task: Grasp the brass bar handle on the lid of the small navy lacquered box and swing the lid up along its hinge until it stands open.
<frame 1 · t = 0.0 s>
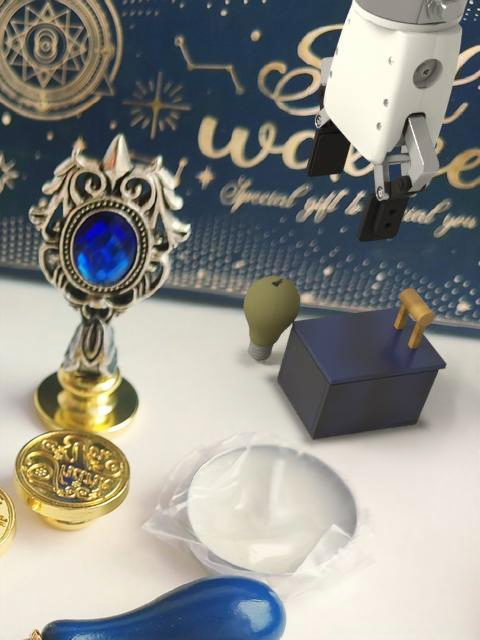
hand: (348, 204, 88), 26 cm above the table, tool pointing down, fingers open, 9 cm apart
box: (345, 401, 111), on the table
lid: (373, 326, 104), point 10 cm above the table, hinge at 0.0°
light bulb: (257, 359, 116), on the table
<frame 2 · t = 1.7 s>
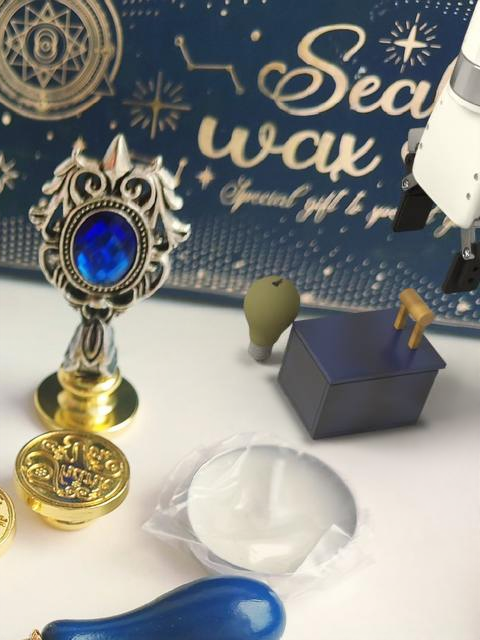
hand: (431, 259, 99), 17 cm above the table, tool pointing down, fingers open, 9 cm apart
nothing on the table moved.
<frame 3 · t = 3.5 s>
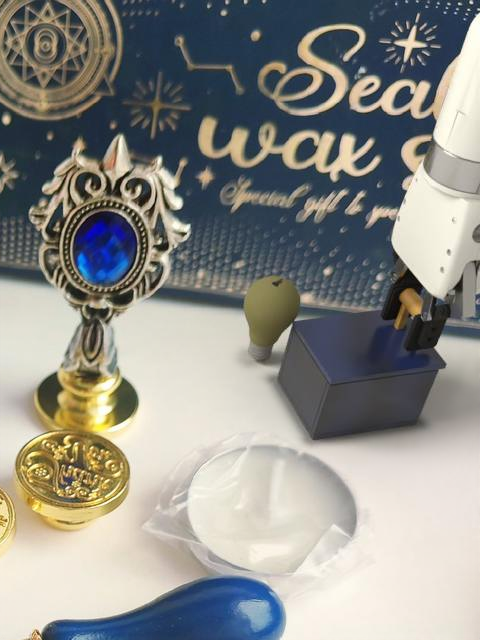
hand: (407, 330, 105), 9 cm above the table, tool pointing down, fingers closed on lid, 4 cm apart
lid: (373, 326, 104), point 10 cm above the table, hinge at 0.0°, touching gripper
everything else where it was.
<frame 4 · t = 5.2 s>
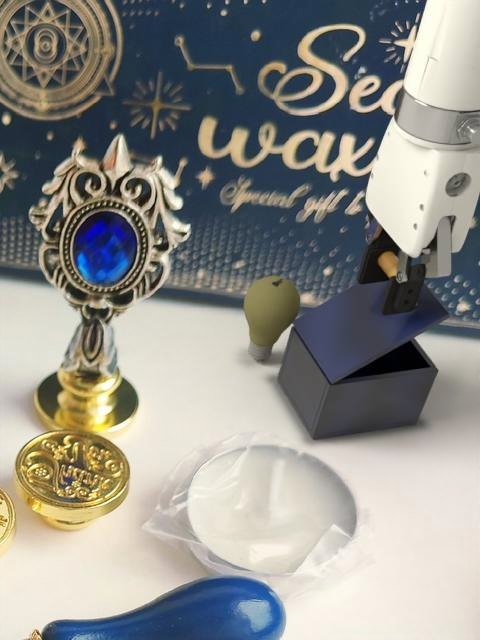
hand: (384, 294, 101), 13 cm above the table, tool pointing down, fingers closed on lid, 4 cm apart
lid: (361, 305, 101), point 12 cm above the table, hinge at 32.7°, touching gripper
everything else where it was.
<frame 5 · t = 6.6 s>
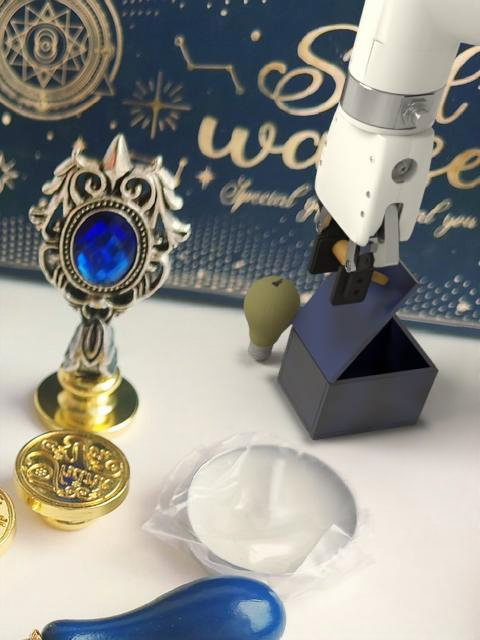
hand: (335, 284, 99), 15 cm above the table, tool pointing down, fingers closed on lid, 4 cm apart
lid: (334, 298, 100), point 14 cm above the table, hinge at 62.3°, touching gripper
everything else where it was.
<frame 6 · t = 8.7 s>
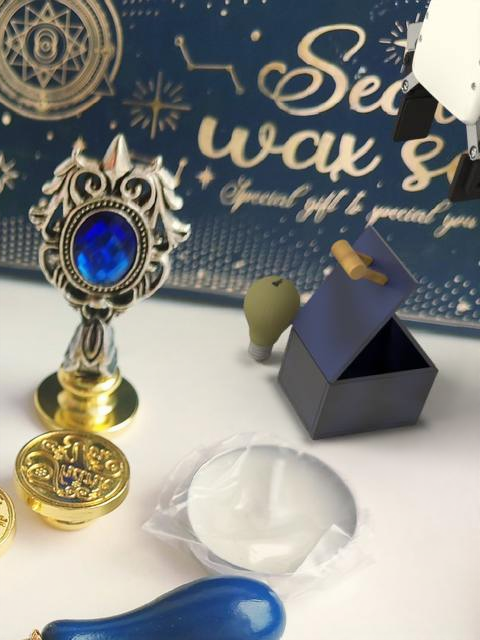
hand: (436, 167, 89), 27 cm above the table, tool pointing down, fingers open, 9 cm apart
lid: (334, 298, 100), point 14 cm above the table, hinge at 62.9°
everything else where it was.
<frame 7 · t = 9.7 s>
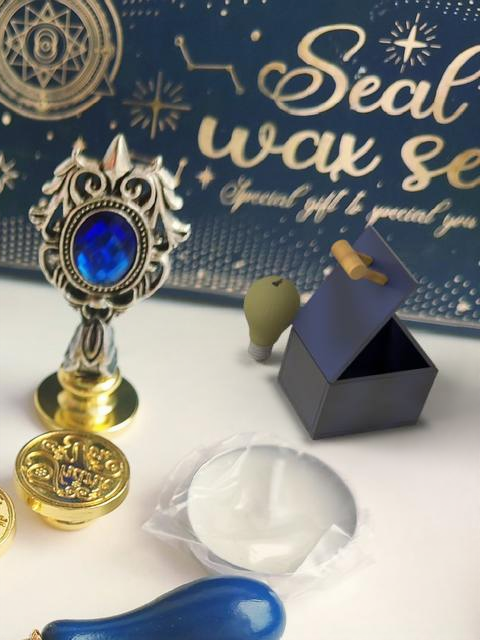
nothing on the table moved.
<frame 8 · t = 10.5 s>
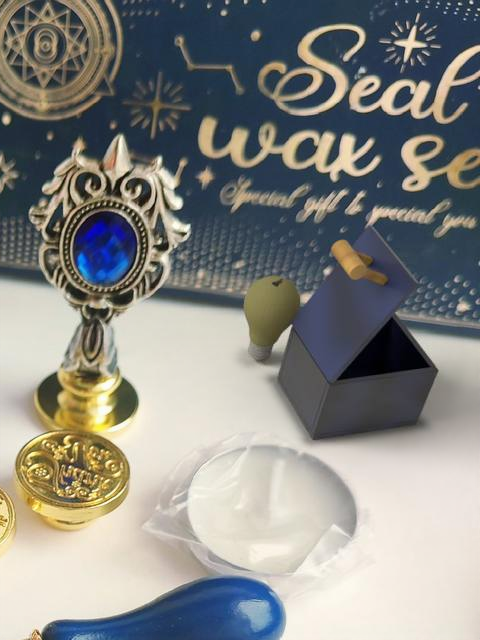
nothing on the table moved.
at the end: lid at +63° (first picture: +0°) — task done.
